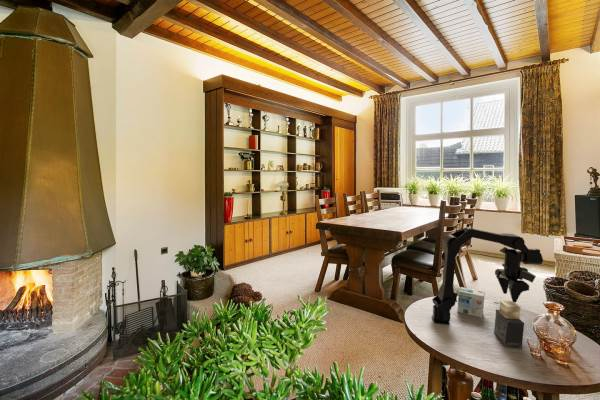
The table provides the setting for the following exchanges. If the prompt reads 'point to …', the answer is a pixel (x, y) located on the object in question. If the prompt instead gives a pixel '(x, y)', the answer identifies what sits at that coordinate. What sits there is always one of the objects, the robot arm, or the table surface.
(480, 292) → the light bulb box
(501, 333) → the small box
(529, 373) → the table surface
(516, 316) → the birch cube
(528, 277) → the robot arm
